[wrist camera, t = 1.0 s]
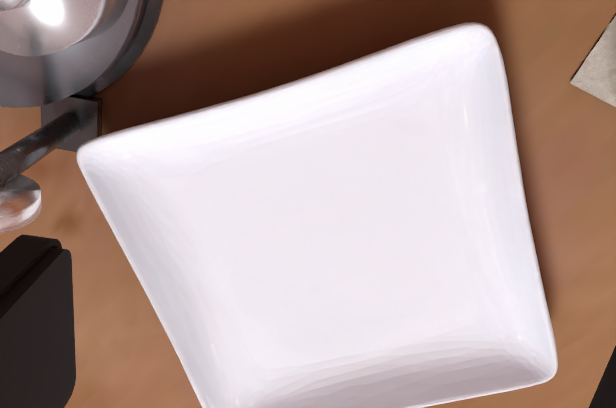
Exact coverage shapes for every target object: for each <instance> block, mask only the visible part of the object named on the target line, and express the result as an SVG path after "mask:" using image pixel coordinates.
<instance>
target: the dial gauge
mask: <svg viewBox="0 0 616 408" xmlns="http://www.w3.org/2000/svg"><path fill="white" fill-rule="evenodd" d="M101 130H102V99H98V98H93V97H87V98H79V97H74V96H69V97H66V98H64V99H62V100H59V101H56V102H52V103H49V104H46V105H41V128H39V129H38V130H36V131H34V132H33V133H31V134H29V135H28V136H26V137H25V138H23V139H21V140H20V141H18V142H16V143H15V144H13V145H11V146H10V147H8V148H6V149H5V150H3V151H2V152H0V233H4V232H9V231H12V230H15V229H18V228H21V227H23V226H25V225H27V224H29V223H31V222H32V221H33V220H35V219H36V218H37V217H38V216H39V214H40V212H41V189H40V187H39V185H38V184H37V183H36V182H35V181H33V180H32V179H30V178H28V177H25V176H23V175H19V174H21V173H22V172H24V171H25V170H26V169H28V168H29V167H31V166H32V165H33V164H35V163H36V162H38V161H39V160H40V159H42V158H43V157H45V156H46V155H47V154H49V153H50V152H52V151H53V150H54V149H56V148H57V149H63V150H68V151H74V152H77V149H78V148H79V147H80V146H81V145H82V144H84V143H86V142H88V141H90V140H92V139H95V138H97V137H100V136H101Z"/></svg>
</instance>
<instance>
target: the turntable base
mask: <svg viewBox="0 0 616 408" xmlns="http://www.w3.org/2000/svg"><path fill="white" fill-rule="evenodd" d="M162 4H163V0H149V1H148V5H147V9H146V13H145V17H144V20H143V22H142V25H141V27H140V30H139V32H138V35H137V36H136V38H135V40H134V42H133V43H132V45H131V47H130V49H129V50H128V51H127V53H126V54H125V55H124V57H123V58H122V59H121V60H120V62H119V63H118V64H117V65H116V66H115V67H114V68H113V69H112V70H110V71H109V72H108V73H107V74H106V75H105V76H103V77H102V78H100V79H99V80H97V81H96V82H94V83H93V84H91V85H89V86H88V87H86V88H84V89H82V90H81V91H79V92H77V93H75V94H73V95H71V96H74V97H79V98H87V97H89V96H91V95H93V94H95V93H97V92H100V91H101V90H103V89H105V88H106V87H108V86H109V85H111V84H112V83H114V82H115V81H116V80H118V79H119V78H120V77H121V76H122V75H123V74H124V73H126V72H127V71H128V70H129V69H130V68H131V67H132V65H133V64H134V63H135V62H136V60H137V59H138V58H139V57H140V55H141V54H142V53H143V51H144V49H145V47H146V46H147V44H148V42H149V41H150V39H151V37H152V34H153V32H154V29H155V27H156V25H157V22H158V19H159V15H160V12H161V8H162ZM39 106H41V105H39Z"/></svg>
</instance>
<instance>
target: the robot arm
mask: <svg viewBox="0 0 616 408" xmlns="http://www.w3.org/2000/svg"><path fill="white" fill-rule="evenodd" d="M75 380H76V364H75V337H74V311H73V285H72V259H71V253H70V251H69V250H67V249H62V246H61V243H60V241H58V240H57V239H51V238H44V237H37V236H30V235H21V236H19V237H17V238H16V239H15V240H14V241H13V242H12V243H11V244H9V245H8V246H7V247H6V248H5V249H4V250H3V251H2V252H0V408H64V407H65V405H66V404H67V402H68V400H69V399H70V397H71V395H72V392H73V389H74V386H75ZM589 408H616V346H615V348H614V351H613V353H612V355H611V358H610V360H609V362H608V365H607V367H606V369H605V372H604V374H603V376H602V378H601V381H600V383H599V385H598V388H597V390H596V392H595V395H594V397H593V399H592V402H591V404H590V406H589Z"/></svg>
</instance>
